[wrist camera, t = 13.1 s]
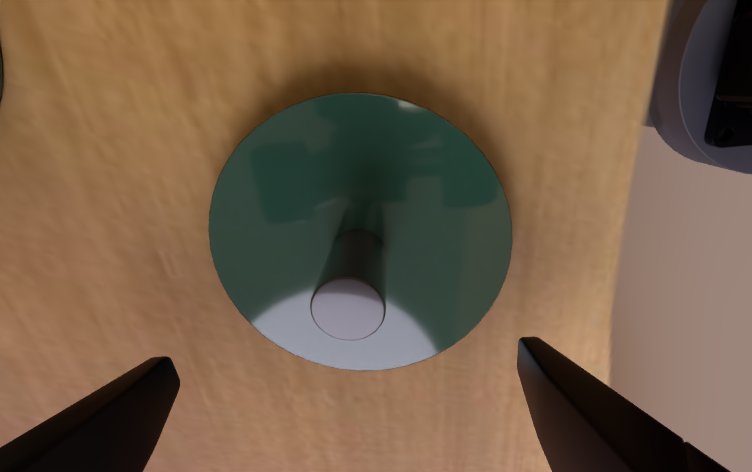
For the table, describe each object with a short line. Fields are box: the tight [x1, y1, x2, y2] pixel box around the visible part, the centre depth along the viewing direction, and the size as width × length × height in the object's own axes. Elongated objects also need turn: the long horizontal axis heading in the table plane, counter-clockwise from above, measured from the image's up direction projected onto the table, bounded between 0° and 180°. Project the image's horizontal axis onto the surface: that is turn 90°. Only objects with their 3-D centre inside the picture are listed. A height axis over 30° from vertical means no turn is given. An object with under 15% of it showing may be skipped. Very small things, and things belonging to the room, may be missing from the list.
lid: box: [209, 92, 512, 371], centre depth 14 cm, size 13×13×5 cm
